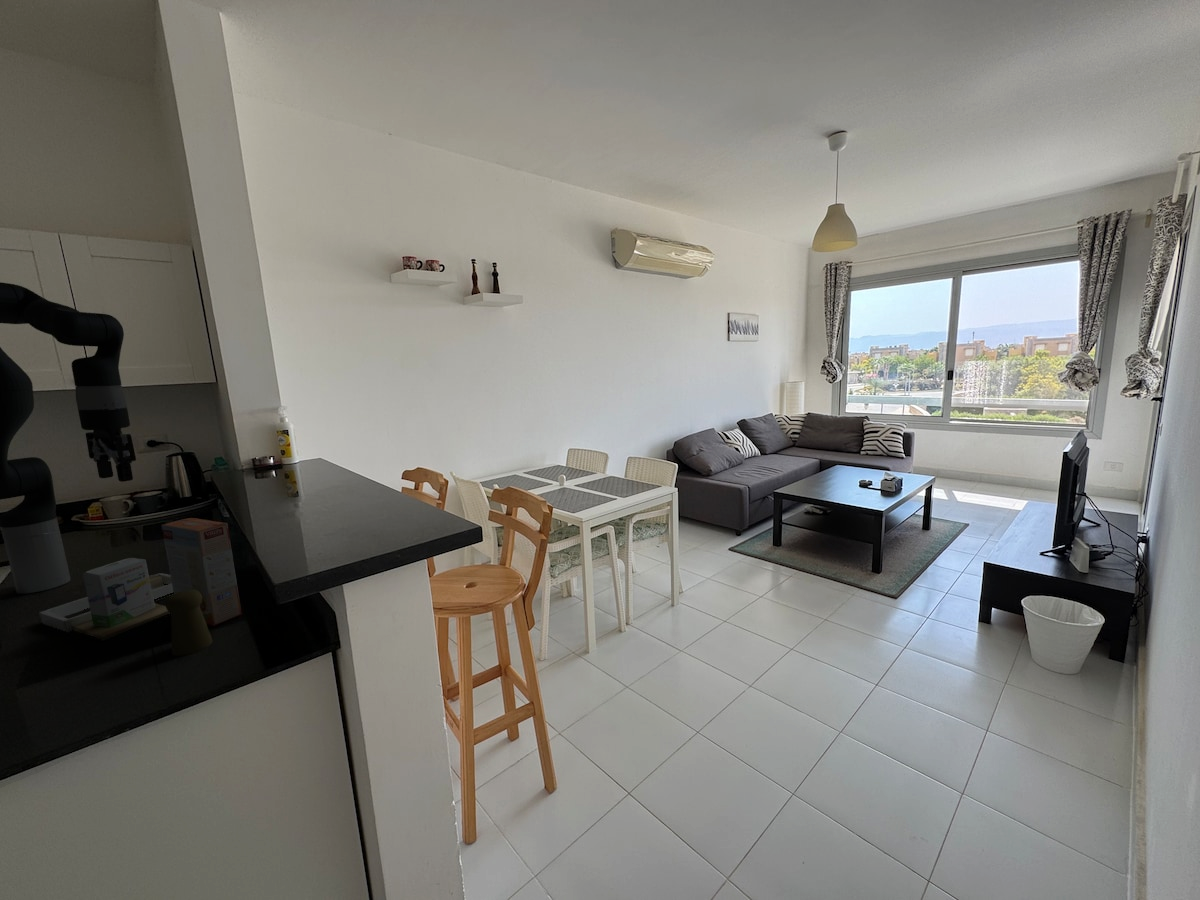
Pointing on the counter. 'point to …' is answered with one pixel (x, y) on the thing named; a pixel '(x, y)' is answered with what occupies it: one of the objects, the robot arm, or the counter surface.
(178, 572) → the cracker box
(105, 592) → the ink box
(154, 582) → the beech block
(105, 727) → the counter surface
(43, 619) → the white slotted tray
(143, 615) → the striped wooden board
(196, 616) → the pepper shaker
